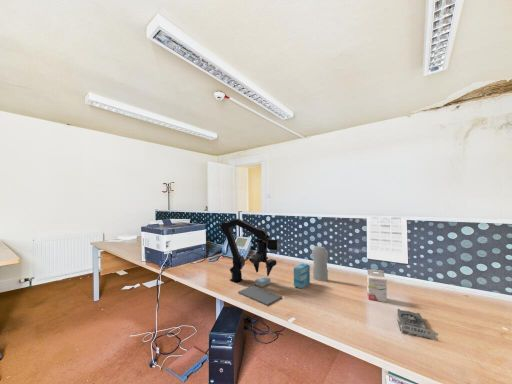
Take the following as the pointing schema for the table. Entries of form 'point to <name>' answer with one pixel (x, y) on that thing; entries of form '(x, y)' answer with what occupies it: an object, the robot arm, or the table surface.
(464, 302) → the table surface
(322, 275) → the tall pale column
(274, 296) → the mat
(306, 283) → the data package
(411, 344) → the table surface
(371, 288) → the ink cartridge box
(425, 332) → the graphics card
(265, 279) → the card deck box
